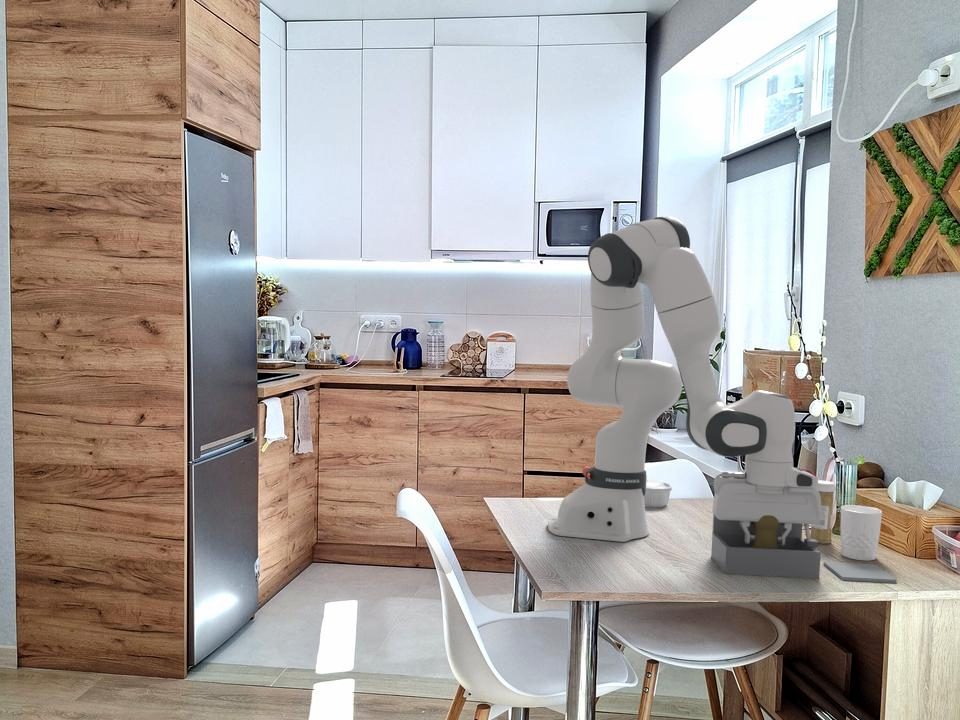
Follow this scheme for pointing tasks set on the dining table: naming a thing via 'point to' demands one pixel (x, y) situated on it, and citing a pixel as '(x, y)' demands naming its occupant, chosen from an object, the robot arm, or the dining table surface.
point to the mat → (859, 572)
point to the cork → (765, 532)
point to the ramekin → (656, 494)
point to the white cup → (860, 531)
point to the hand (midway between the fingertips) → (764, 544)
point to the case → (764, 552)
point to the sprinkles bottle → (824, 513)
